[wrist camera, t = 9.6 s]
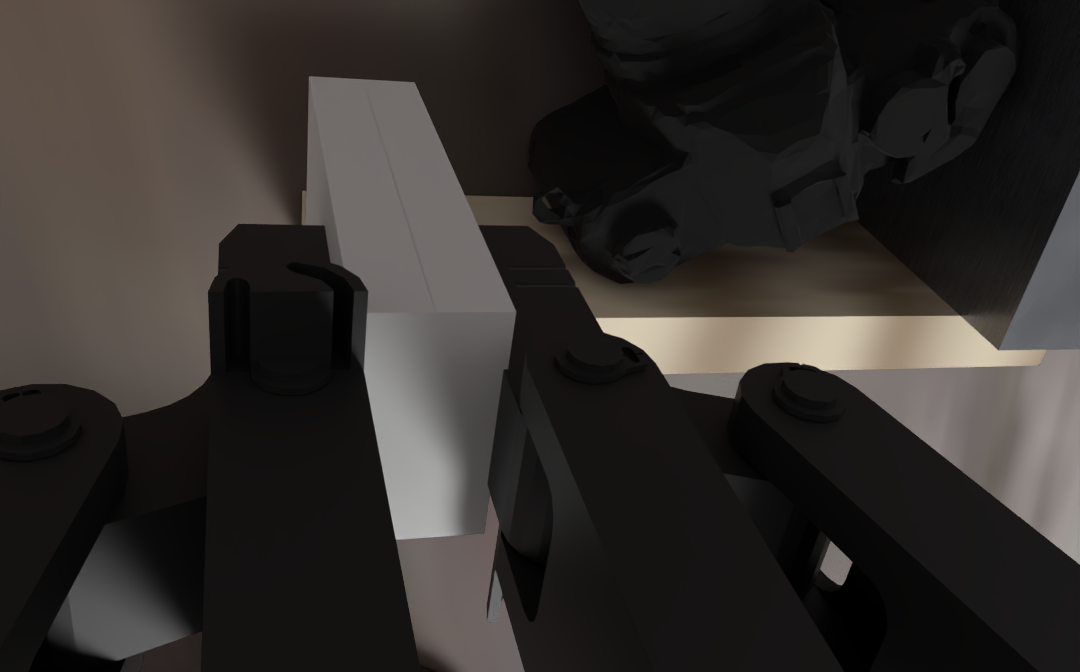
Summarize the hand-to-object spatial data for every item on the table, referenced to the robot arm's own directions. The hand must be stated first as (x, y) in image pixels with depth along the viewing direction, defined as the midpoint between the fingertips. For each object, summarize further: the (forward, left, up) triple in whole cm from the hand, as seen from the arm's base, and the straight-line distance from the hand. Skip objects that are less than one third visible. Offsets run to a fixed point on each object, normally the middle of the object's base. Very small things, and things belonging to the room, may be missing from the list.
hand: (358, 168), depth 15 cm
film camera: (+12, -1, -17) cm, 21 cm away
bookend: (+22, -3, -17) cm, 28 cm away
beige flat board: (+12, -9, -17) cm, 23 cm away
